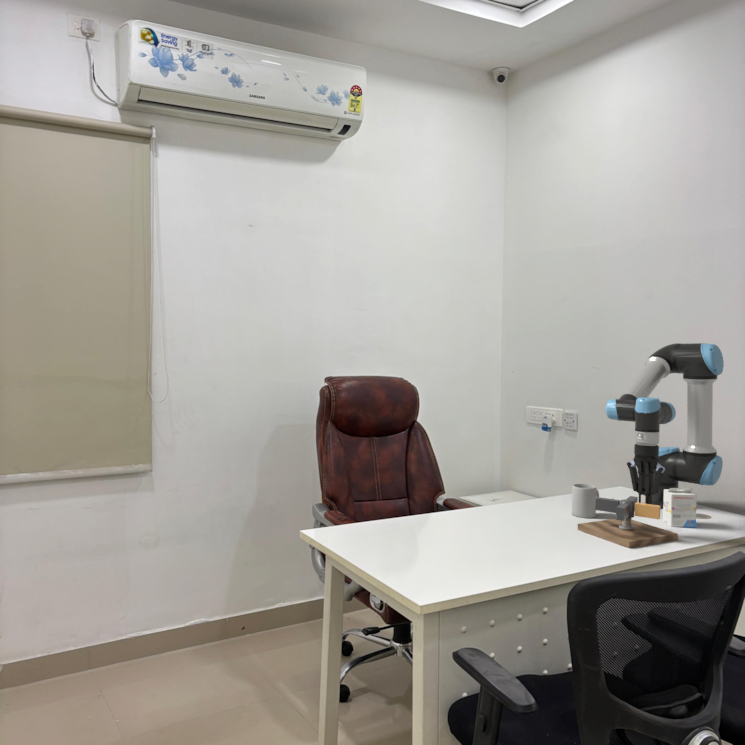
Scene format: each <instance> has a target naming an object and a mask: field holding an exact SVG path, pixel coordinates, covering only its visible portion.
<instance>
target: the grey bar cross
mask: <svg viewBox="0 0 745 745" xmlns="http://www.w3.org/2000/svg"><path fill="white" fill-rule="evenodd" d="M660 507H661V506H659V505H652V504H644V503H639V496H634V495H633V496H632V495H630V496H628V497H627V498H626V499H615V498H609V497H608V498H606V497H600V496H599V497H597V498H596V505H595V510H596V511H600V512H605V513H606V512H607V513H613V514H615V519H616V520H621V521H624V520H625V519H626V518H631V519H632V518H635V517H640V518H647V519H654V520H660V519H661V508H660Z"/></svg>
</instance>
